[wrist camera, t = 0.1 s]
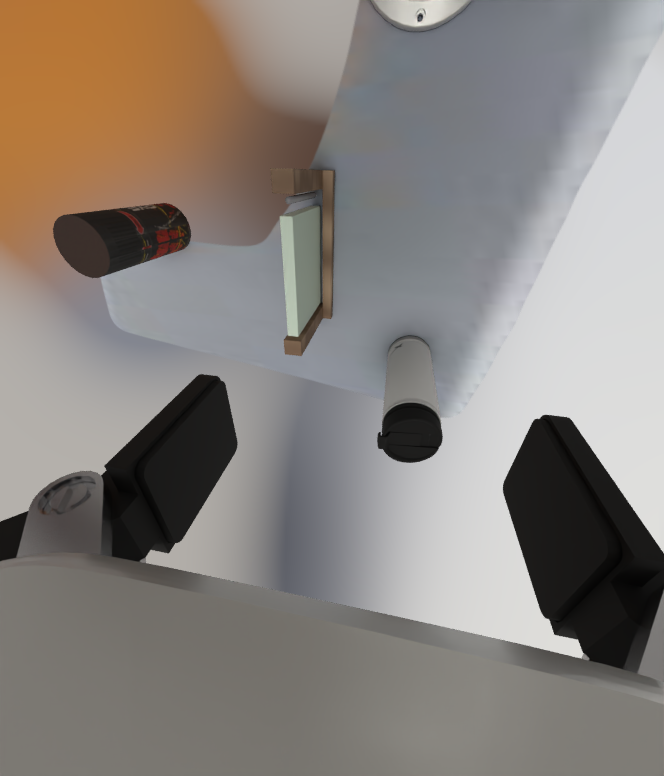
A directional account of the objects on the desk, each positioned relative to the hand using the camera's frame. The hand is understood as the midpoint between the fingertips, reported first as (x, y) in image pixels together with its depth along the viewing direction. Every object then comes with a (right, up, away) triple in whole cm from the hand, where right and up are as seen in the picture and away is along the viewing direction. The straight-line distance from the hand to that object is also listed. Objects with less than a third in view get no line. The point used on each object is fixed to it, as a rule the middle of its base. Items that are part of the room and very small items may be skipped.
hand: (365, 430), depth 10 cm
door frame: (-2, +20, +32) cm, 38 cm away
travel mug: (+11, +7, +38) cm, 40 cm away
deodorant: (-24, +24, +34) cm, 48 cm away
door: (-4, +19, +32) cm, 38 cm away
